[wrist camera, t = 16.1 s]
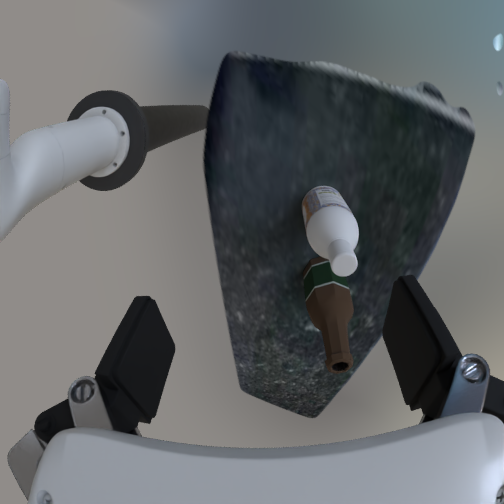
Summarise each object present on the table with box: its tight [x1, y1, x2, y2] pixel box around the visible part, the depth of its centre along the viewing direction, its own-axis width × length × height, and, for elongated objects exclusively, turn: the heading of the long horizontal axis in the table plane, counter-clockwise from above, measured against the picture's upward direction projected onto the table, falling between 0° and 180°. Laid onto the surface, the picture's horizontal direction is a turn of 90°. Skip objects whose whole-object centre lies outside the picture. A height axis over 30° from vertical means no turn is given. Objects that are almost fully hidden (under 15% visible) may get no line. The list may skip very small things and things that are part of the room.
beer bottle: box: [303, 256, 354, 374], centre depth 41 cm, size 8×8×24 cm
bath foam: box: [302, 186, 359, 277], centre depth 36 cm, size 7×7×20 cm
